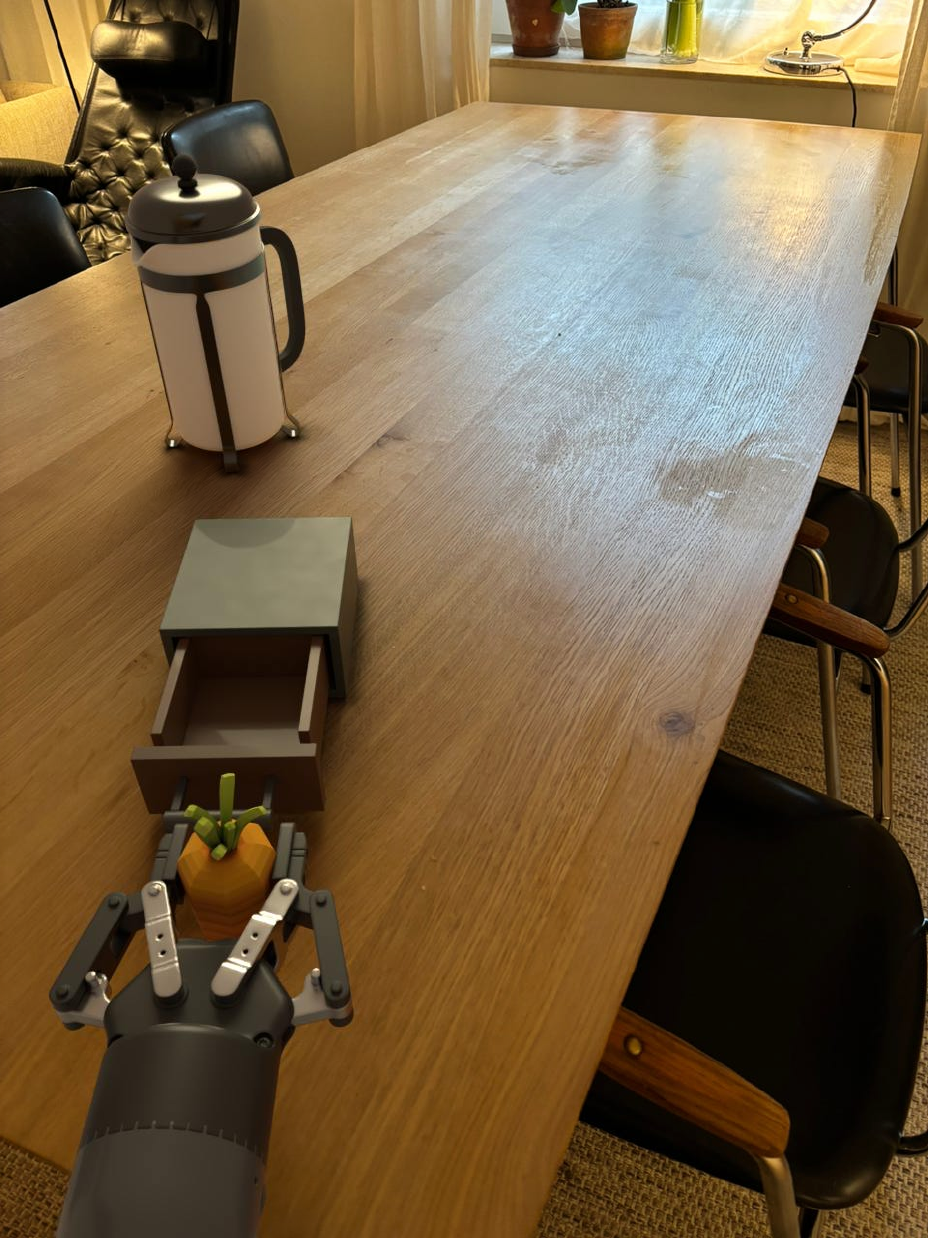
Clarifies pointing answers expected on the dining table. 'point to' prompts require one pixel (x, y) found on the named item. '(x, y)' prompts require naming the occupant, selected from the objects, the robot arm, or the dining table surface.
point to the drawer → (238, 728)
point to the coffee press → (215, 308)
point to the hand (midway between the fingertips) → (237, 833)
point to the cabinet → (268, 585)
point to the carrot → (226, 867)
